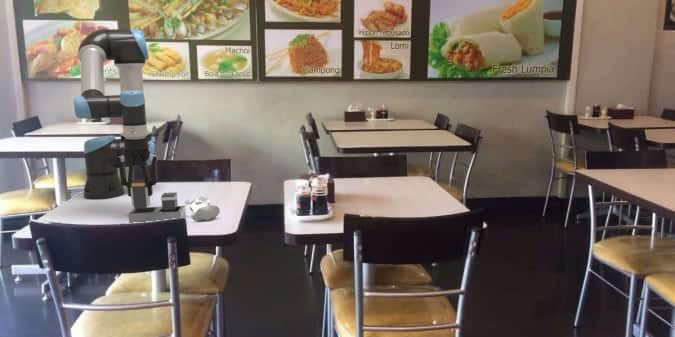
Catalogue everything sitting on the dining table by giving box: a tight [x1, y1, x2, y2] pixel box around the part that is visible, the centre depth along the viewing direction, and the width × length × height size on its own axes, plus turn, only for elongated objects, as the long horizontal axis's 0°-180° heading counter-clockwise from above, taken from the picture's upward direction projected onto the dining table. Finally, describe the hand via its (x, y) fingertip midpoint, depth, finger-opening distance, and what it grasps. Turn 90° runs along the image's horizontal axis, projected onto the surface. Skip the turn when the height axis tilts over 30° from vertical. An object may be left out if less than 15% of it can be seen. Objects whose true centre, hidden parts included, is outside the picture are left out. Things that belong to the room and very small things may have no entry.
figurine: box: [184, 196, 221, 222], centre depth 191 cm, size 9×6×12 cm
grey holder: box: [128, 191, 187, 223], centre depth 183 cm, size 8×16×10 cm, turn 95°
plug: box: [131, 178, 148, 209], centre depth 194 cm, size 4×4×9 cm
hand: (141, 205), depth 194 cm, fingers closed on plug, 4 cm apart
